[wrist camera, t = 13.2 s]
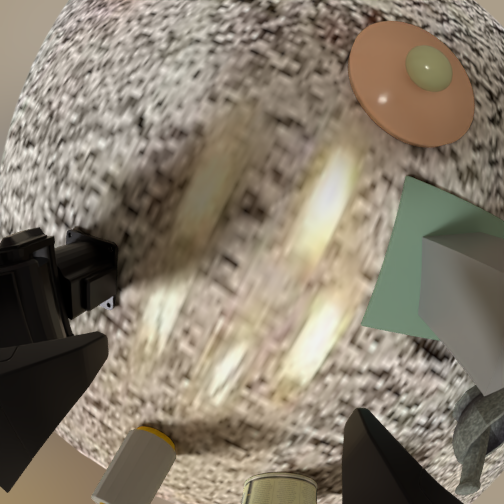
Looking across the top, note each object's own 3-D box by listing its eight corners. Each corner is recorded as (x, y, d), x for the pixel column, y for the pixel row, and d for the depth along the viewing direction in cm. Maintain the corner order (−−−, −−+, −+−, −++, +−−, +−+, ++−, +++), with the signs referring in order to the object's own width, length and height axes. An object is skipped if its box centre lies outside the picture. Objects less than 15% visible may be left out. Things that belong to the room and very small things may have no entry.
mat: (361, 323, 20) (362, 325, 20) (405, 176, 18) (407, 175, 17) (469, 343, 19) (471, 345, 19) (510, 226, 16) (513, 226, 16)
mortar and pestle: (503, 354, 19) (556, 413, 7) (501, 398, 20) (537, 453, 8) (425, 408, 21) (459, 489, 10) (433, 444, 22) (457, 510, 11)
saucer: (337, 119, 17) (351, 97, 13) (354, 13, 15) (365, -21, 10) (460, 167, 16) (497, 165, 12) (464, 61, 14) (492, 42, 9)
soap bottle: (165, 459, 29) (117, 552, 11) (125, 431, 28) (63, 519, 11) (190, 447, 27) (139, 559, 10) (144, 415, 27) (72, 522, 9)
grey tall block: (417, 314, 19) (484, 396, 8) (422, 236, 18) (517, 280, 7) (474, 303, 18) (547, 363, 7) (480, 231, 17) (573, 263, 6)
